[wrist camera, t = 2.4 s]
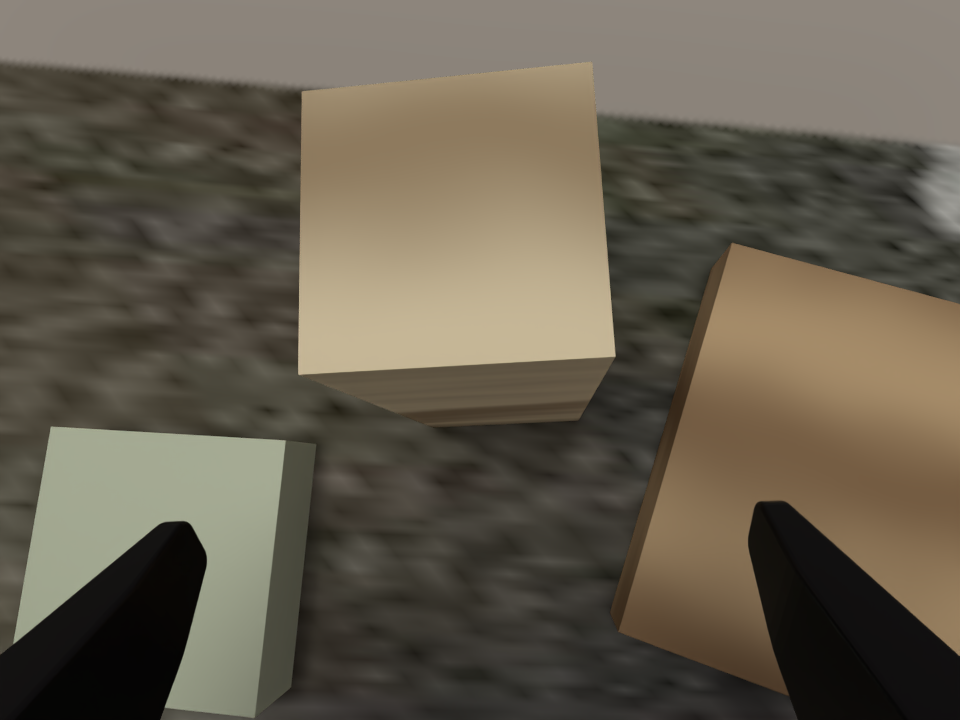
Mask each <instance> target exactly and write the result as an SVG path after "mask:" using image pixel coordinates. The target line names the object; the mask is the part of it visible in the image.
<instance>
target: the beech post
mask: <svg viewBox="0 0 960 720" xmlns="http://www.w3.org/2000/svg"><path fill="white" fill-rule="evenodd" d="M614 358H615V344H614V332H613V319H612V306H611V294H610V281H609V268H608V256H607V243H606V231H605V218H604V205H603V193H602V180H601V167H600V155H599V142H598V130H597V117H596V104H595V92H594V79H593V68H592V62H585V63H576V64H566V65H556V66H546V67H536V68H527V69H517V70H507V71H497V72H488V73H479V74H468V75H458V76H449V77H440V78H429V79H420V80H410V81H400V82H390V83H380V84H370V85H361V86H351V87H341V88H331V89H321V90H312V91H302V132H301V206H300V281H299V356H298V375H300V376H303V377H305V378H308V379H310V380H313V381H316V382H318V383H321V384H323V385H326V386H328V387H331V388H333V389H336V390H339V391H341V392H344V393H346V394H349V395H351V396H354V397H356V398H359V399H361V400H364V401H367V402H369V403H372V404H374V405H377V406H379V407H382V408H384V409H387V410H390V411H392V412H395V413H397V414H400V415H402V416H405V417H407V418H410V419H413V420H415V421H418V422H420V423H423V424H425V425H428V426H430V427H454V426H475V425H496V424H517V423H538V422H559V421H578V420H579V419H580V417H581V415H582V413H583V412H584V410H585V408H586V407H587V405H588V403H589V401H590V400H591V398H592V396H593V395H594V393H595V391H596V389H597V388H598V386H599V384H600V382H601V381H602V379H603V377H604V376H605V374H606V372H607V370H608V369H609V367H610V365H611V364H612V362H613V360H614Z"/></svg>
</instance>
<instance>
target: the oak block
mask: <svg viewBox="0 0 960 720" xmlns="http://www.w3.org/2000/svg"><path fill="white" fill-rule="evenodd" d="M773 500H782V501H785V502H787V503H789V504H790V505H791V506H793V507H794V508H795V509H796V510H797V511H798V512H799V513H800V514H801V515H803V516H804V517H805V518H806V519H807V520H808V521H809V522H810V523H812V524H813V525H814V526H815V527H816V528H817V529H818V530H819V531H821V532H822V533H823V534H824V535H825V536H826V537H827V538H828V539H829V540H831V541H832V542H833V543H834V544H835V545H836V546H837V547H838V548H840V549H841V550H842V551H843V552H844V553H845V554H846V555H847V556H848V557H850V558H851V559H852V560H853V561H854V562H855V563H856V564H857V565H859V566H860V567H861V568H862V569H863V570H864V571H865V572H866V573H868V574H869V575H870V576H871V577H872V578H873V579H874V580H875V581H876V582H878V583H879V584H880V585H881V586H882V587H883V588H884V589H885V590H887V591H888V592H889V593H890V594H891V595H892V596H893V597H894V598H895V599H897V600H898V601H899V602H900V603H901V604H902V605H903V606H904V607H906V608H907V609H908V610H909V611H910V612H911V613H912V614H913V615H915V616H916V617H917V618H918V619H919V620H920V621H921V622H922V623H923V624H925V625H926V626H927V627H928V628H929V629H930V630H931V631H932V632H934V633H935V634H936V635H937V636H938V637H939V638H940V639H941V640H942V641H944V642H945V643H946V644H947V645H948V646H949V647H950V648H951V649H953V650H954V651H955V652H956V653H957V654H958V655H959V656H960V304H957V303H954V302H950V301H946V300H942V299H939V298H935V297H931V296H928V295H924V294H920V293H916V292H913V291H909V290H905V289H901V288H898V287H894V286H890V285H887V284H883V283H879V282H875V281H872V280H868V279H864V278H861V277H857V276H853V275H849V274H846V273H842V272H838V271H835V270H831V269H827V268H823V267H820V266H816V265H812V264H808V263H805V262H801V261H797V260H794V259H790V258H786V257H782V256H779V255H775V254H771V253H768V252H764V251H760V250H756V249H753V248H749V247H745V246H742V245H738V244H734V243H732V244H731V245H730V246H729V247H728V249H727V250H726V251H725V252H724V254H723V255H722V256H721V257H720V259H719V260H718V261H717V262H716V264H715V265H714V266H713V267H712V269H711V271H710V275H709V278H708V282H707V285H706V288H705V292H704V295H703V299H702V302H701V305H700V309H699V312H698V315H697V319H696V322H695V326H694V329H693V332H692V336H691V339H690V343H689V346H688V349H687V353H686V356H685V360H684V363H683V366H682V370H681V373H680V377H679V380H678V383H677V387H676V390H675V393H674V397H673V400H672V404H671V407H670V410H669V414H668V417H667V421H666V424H665V427H664V431H663V434H662V438H661V441H660V444H659V448H658V451H657V455H656V458H655V461H654V465H653V468H652V472H651V475H650V478H649V482H648V485H647V488H646V492H645V495H644V499H643V502H642V505H641V509H640V512H639V516H638V519H637V522H636V526H635V529H634V533H633V536H632V539H631V543H630V546H629V550H628V553H627V556H626V560H625V563H624V566H623V570H622V573H621V577H620V580H619V583H618V587H617V590H616V594H615V597H614V600H613V604H612V607H611V611H610V614H611V616H612V619H613V621H614V623H615V625H616V628H617V630H618V632H619V633H622V634H625V635H627V636H630V637H633V638H635V639H638V640H641V641H643V642H646V643H649V644H651V645H654V646H657V647H659V648H662V649H665V650H667V651H670V652H673V653H675V654H678V655H681V656H683V657H686V658H689V659H691V660H694V661H697V662H699V663H702V664H705V665H707V666H710V667H713V668H715V669H718V670H721V671H723V672H726V673H729V674H731V675H734V676H737V677H739V678H742V679H745V680H747V681H750V682H753V683H755V684H758V685H761V686H763V687H766V688H769V689H771V690H774V691H777V692H779V693H782V694H785V695H787V696H789V694H788V691H787V688H786V686H785V683H784V680H783V677H782V675H781V672H780V669H779V666H778V663H777V660H776V657H775V654H774V651H773V648H772V644H771V641H770V637H769V633H768V629H767V625H766V621H765V616H764V612H763V608H762V604H761V600H760V596H759V591H758V587H757V583H756V579H755V575H754V571H753V566H752V562H751V558H750V554H749V549H748V534H749V529H750V525H751V520H752V515H753V510H754V507H755V505H756V503H757V502H759V501H773Z"/></svg>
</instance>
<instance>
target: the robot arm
mask: <svg viewBox="0 0 960 720" xmlns="http://www.w3.org/2000/svg"><path fill="white" fill-rule="evenodd" d="M748 549H749V554H750V558H751V562H752V566H753V571H754V575H755V579H756V583H757V587H758V591H759V596H760V600H761V604H762V608H763V612H764V616H765V621H766V625H767V629H768V633H769V637H770V641H771V644H772V648H773V651H774V654H775V657H776V660H777V663H778V666H779V669H780V672H781V675H782V677H783V680H784V683H785V686H786V688H787V691H788V694H789V697H790V699H791V702H792V705H793V708H794V710H795V713H796V716H797V719H798V720H960V656H959V655H958V654H957V653H956V652H955V651H954V650H953V649H951V648H950V647H949V646H948V645H947V644H946V643H945V642H944V641H942V640H941V639H940V638H939V637H938V636H937V635H936V634H935V633H934V632H932V631H931V630H930V629H929V628H928V627H927V626H926V625H925V624H923V623H922V622H921V621H920V620H919V619H918V618H917V617H916V616H915V615H913V614H912V613H911V612H910V611H909V610H908V609H907V608H906V607H904V606H903V605H902V604H901V603H900V602H899V601H898V600H897V599H895V598H894V597H893V596H892V595H891V594H890V593H889V592H888V591H887V590H885V589H884V588H883V587H882V586H881V585H880V584H879V583H878V582H876V581H875V580H874V579H873V578H872V577H871V576H870V575H869V574H868V573H866V572H865V571H864V570H863V569H862V568H861V567H860V566H859V565H857V564H856V563H855V562H854V561H853V560H852V559H851V558H850V557H848V556H847V555H846V554H845V553H844V552H843V551H842V550H841V549H840V548H838V547H837V546H836V545H835V544H834V543H833V542H832V541H831V540H829V539H828V538H827V537H826V536H825V535H824V534H823V533H822V532H821V531H819V530H818V529H817V528H816V527H815V526H814V525H813V524H812V523H810V522H809V521H808V520H807V519H806V518H805V517H804V516H803V515H801V514H800V513H799V512H798V511H797V510H796V509H795V508H794V507H793V506H791V505H790V504H789V503H787V502H785V501H782V500H773V501H759V502H757V503H756V505H755V507H754V510H753V515H752V520H751V525H750V529H749V534H748ZM206 567H207V555H206V551H205V549H204V547H203V545H202V543H201V542H200V540H199V538H198V536H197V534H196V532H195V531H194V529H193V527H192V525H191V524H190V523H188V522H187V521H168V522H163V523H161V524H159V525H158V526H156V527H155V528H154V529H153V530H151V531H150V532H149V533H148V534H146V535H145V536H144V537H143V538H142V539H140V540H139V541H138V542H137V543H136V544H134V545H133V546H132V547H131V548H130V549H128V550H127V551H126V552H125V553H123V554H122V555H121V556H120V557H119V558H117V559H116V560H115V561H114V562H113V563H111V564H110V565H109V566H108V567H106V568H105V569H104V570H103V571H102V572H100V573H99V574H98V575H97V576H96V577H94V578H93V579H92V580H91V581H89V582H88V583H87V584H86V585H85V586H83V587H82V588H81V589H80V590H79V591H77V592H76V593H75V594H74V595H72V596H71V597H70V598H69V599H68V600H66V601H65V602H64V603H63V604H62V605H60V606H59V607H58V608H57V609H56V610H54V611H53V612H52V613H51V614H49V615H48V616H47V617H46V618H45V619H43V620H42V621H41V622H40V623H39V624H37V625H36V626H35V627H34V628H32V629H31V630H30V631H29V632H28V633H26V634H25V635H24V636H23V637H22V638H20V639H19V640H18V641H17V642H15V643H14V644H13V645H12V646H11V647H9V648H8V649H7V650H6V651H5V652H3V653H2V654H1V655H0V720H160V719H161V716H162V713H163V711H164V708H165V705H166V703H167V700H168V697H169V694H170V692H171V689H172V686H173V684H174V681H175V678H176V675H177V673H178V670H179V667H180V664H181V661H182V658H183V655H184V652H185V648H186V645H187V641H188V637H189V634H190V630H191V626H192V622H193V618H194V614H195V610H196V606H197V602H198V598H199V595H200V591H201V587H202V583H203V579H204V575H205V571H206Z"/></svg>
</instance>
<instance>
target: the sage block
mask: <svg viewBox="0 0 960 720" xmlns="http://www.w3.org/2000/svg"><path fill="white" fill-rule="evenodd" d="M315 453H316V444H312V443H303V442H294V441H286V440H269V439H252V438H235V437H218V436H201V435H184V434H167V433H150V432H133V431H116V430H99V429H82V428H65V427H51V430H50V436H49V442H48V447H47V453H46V459H45V464H44V470H43V476H42V482H41V487H40V493H39V499H38V505H37V510H36V516H35V522H34V527H33V533H32V539H31V545H30V550H29V556H28V562H27V568H26V573H25V579H24V585H23V591H22V596H21V602H20V608H19V613H18V619H17V625H16V631H15V636H14V642H13V644H14V643H15V642H17V641H18V640H19V639H20V638H22V637H23V636H24V635H25V634H26V633H28V632H29V631H30V630H31V629H32V628H34V627H35V626H36V625H37V624H39V623H40V622H41V621H42V620H43V619H45V618H46V617H47V616H48V615H49V614H51V613H52V612H53V611H54V610H56V609H57V608H58V607H59V606H60V605H62V604H63V603H64V602H65V601H66V600H68V599H69V598H70V597H71V596H72V595H74V594H75V593H76V592H77V591H79V590H80V589H81V588H82V587H83V586H85V585H86V584H87V583H88V582H89V581H91V580H92V579H93V578H94V577H96V576H97V575H98V574H99V573H100V572H102V571H103V570H104V569H105V568H106V567H108V566H109V565H110V564H111V563H113V562H114V561H115V560H116V559H117V558H119V557H120V556H121V555H122V554H123V553H125V552H126V551H127V550H128V549H130V548H131V547H132V546H133V545H134V544H136V543H137V542H138V541H139V540H140V539H142V538H143V537H144V536H145V535H146V534H148V533H149V532H150V531H151V530H153V529H154V528H155V527H156V526H158V525H159V524H161V523H163V522H168V521H187V522H188V523H190V524H191V525H192V527H193V529H194V531H195V532H196V534H197V536H198V538H199V540H200V542H201V543H202V545H203V547H204V549H205V551H206V555H207V567H206V571H205V575H204V579H203V583H202V587H201V591H200V595H199V598H198V602H197V606H196V610H195V614H194V618H193V622H192V626H191V630H190V634H189V637H188V641H187V645H186V648H185V652H184V655H183V658H182V661H181V664H180V667H179V670H178V673H177V675H176V678H175V681H174V684H173V686H172V689H171V692H170V694H169V697H168V700H167V703H166V705H165V708H172V709H181V710H190V711H198V712H207V713H216V714H225V715H234V716H243V717H252V718H255V717H256V716H258V715H259V714H260V713H261V712H262V711H264V710H265V709H266V708H267V707H268V706H270V705H271V704H272V703H273V702H274V701H275V700H277V699H278V698H279V697H280V696H281V695H283V694H284V693H285V692H286V691H287V690H289V689H290V688H291V683H292V674H293V664H294V655H295V645H296V635H297V626H298V616H299V607H300V597H301V587H302V578H303V568H304V559H305V549H306V539H307V530H308V520H309V511H310V501H311V491H312V482H313V472H314V463H315Z"/></svg>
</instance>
